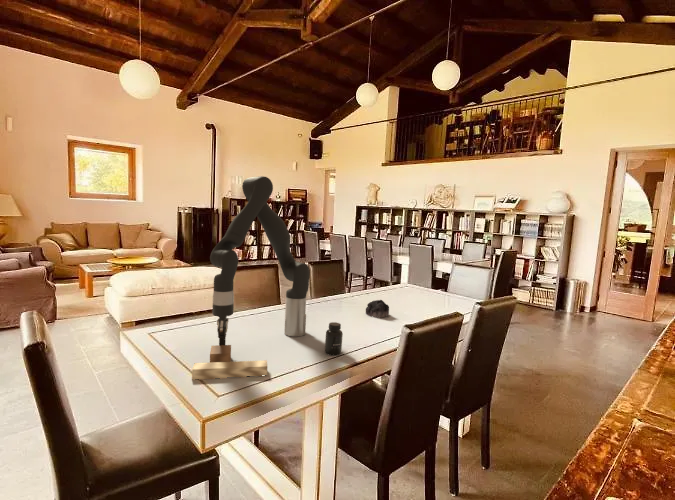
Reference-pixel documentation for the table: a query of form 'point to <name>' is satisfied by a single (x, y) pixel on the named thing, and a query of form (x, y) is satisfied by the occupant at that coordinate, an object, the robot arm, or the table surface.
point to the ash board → (229, 369)
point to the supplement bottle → (333, 339)
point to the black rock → (377, 309)
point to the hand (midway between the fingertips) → (222, 346)
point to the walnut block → (220, 353)
